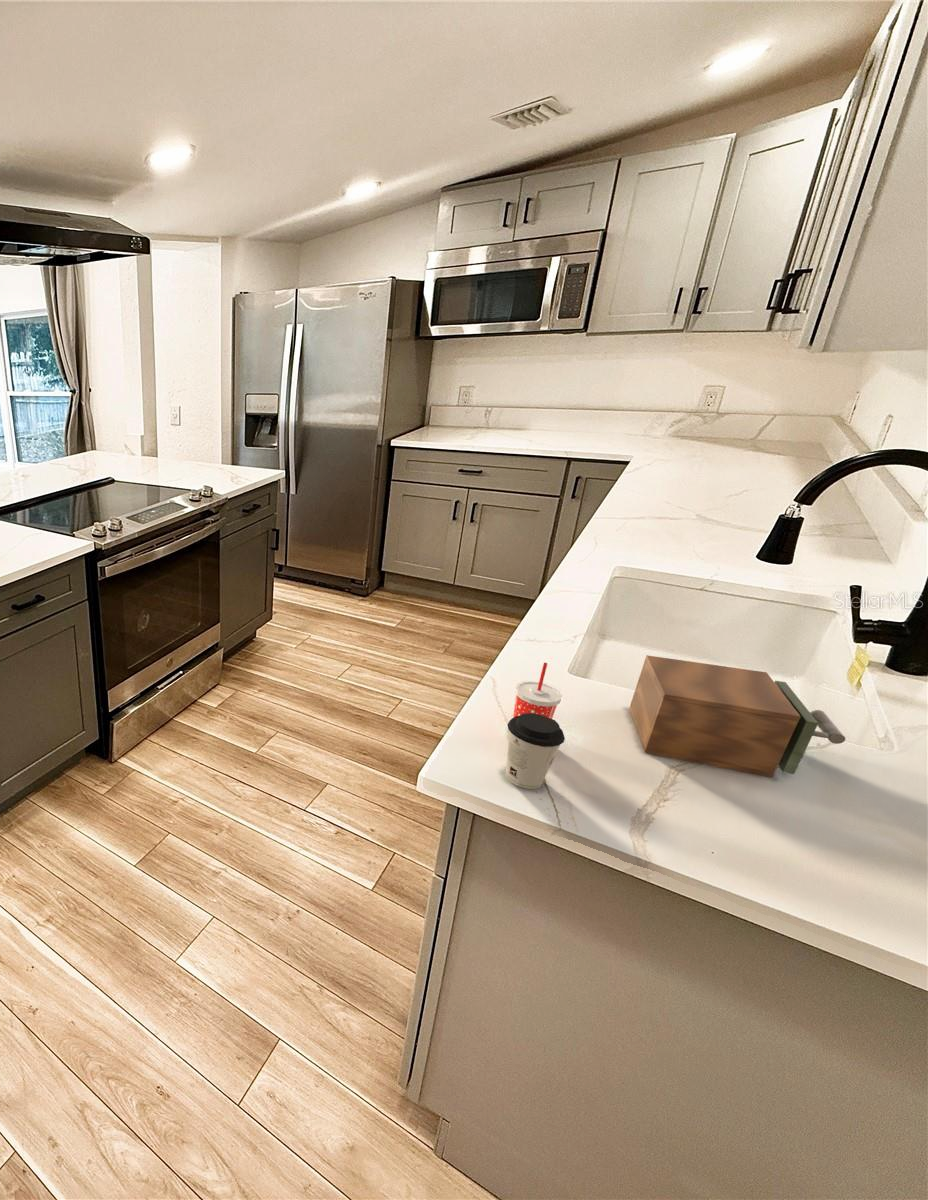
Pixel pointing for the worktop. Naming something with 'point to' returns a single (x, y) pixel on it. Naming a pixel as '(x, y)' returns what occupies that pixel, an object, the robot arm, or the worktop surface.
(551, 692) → the beverage cup
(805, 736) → the drawer
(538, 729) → the coffee cup
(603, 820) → the worktop surface
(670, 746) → the cabinet
